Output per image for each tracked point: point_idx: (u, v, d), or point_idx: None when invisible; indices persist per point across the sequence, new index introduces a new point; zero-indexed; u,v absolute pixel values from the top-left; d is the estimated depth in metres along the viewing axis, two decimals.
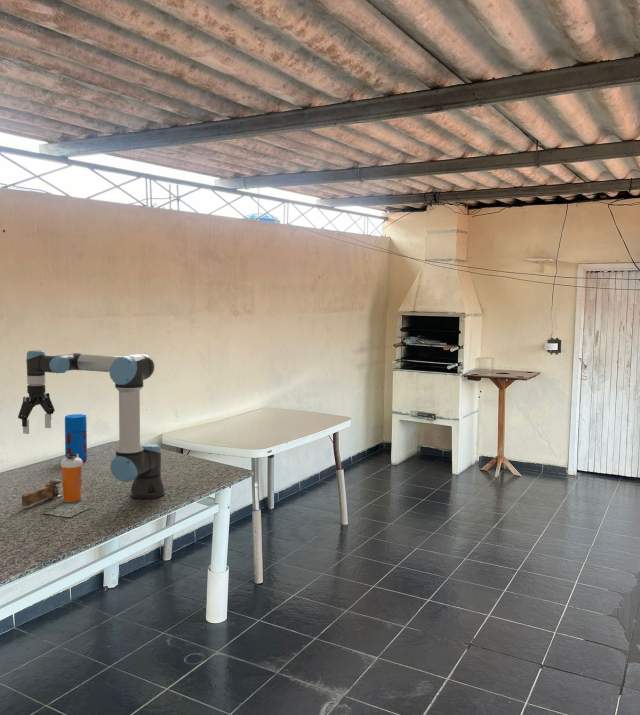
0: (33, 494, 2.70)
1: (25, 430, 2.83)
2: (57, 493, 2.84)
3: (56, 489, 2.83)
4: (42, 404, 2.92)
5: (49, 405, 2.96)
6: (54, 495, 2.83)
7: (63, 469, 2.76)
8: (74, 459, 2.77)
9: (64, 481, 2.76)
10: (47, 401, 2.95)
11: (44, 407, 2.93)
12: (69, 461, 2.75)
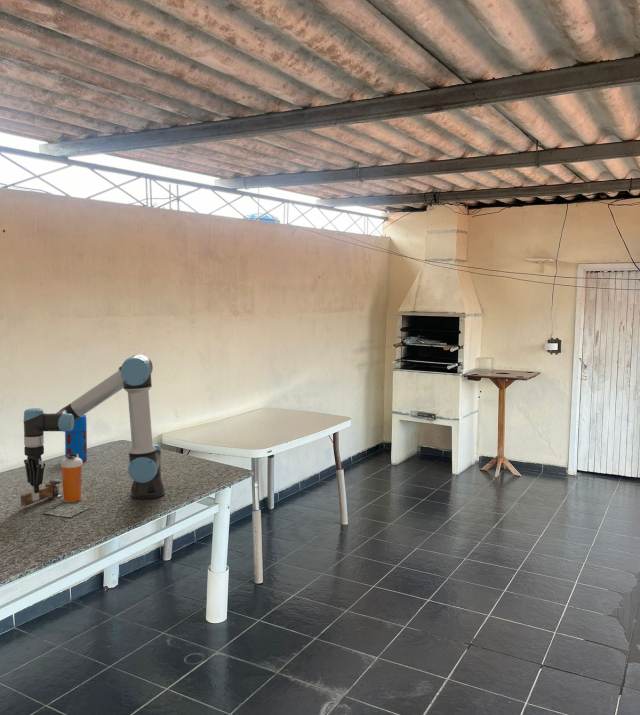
0: None
1: None
2: (57, 493, 2.84)
3: (56, 489, 2.83)
4: None
5: None
6: (54, 495, 2.83)
7: (63, 469, 2.76)
8: (74, 459, 2.77)
9: (64, 481, 2.76)
10: None
11: None
12: (69, 461, 2.75)
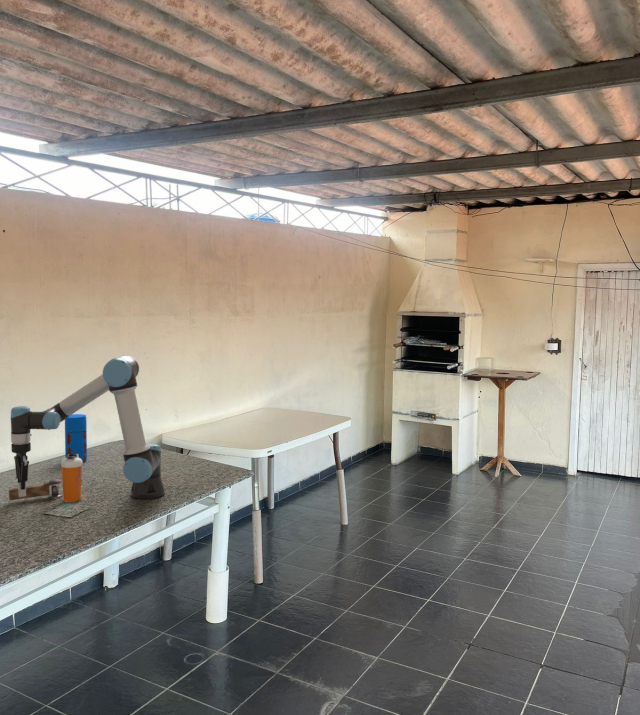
0: None
1: None
2: (57, 493, 2.84)
3: (56, 489, 2.83)
4: None
5: None
6: (54, 495, 2.83)
7: (63, 469, 2.76)
8: (74, 459, 2.77)
9: (64, 481, 2.76)
10: None
11: None
12: (69, 461, 2.75)
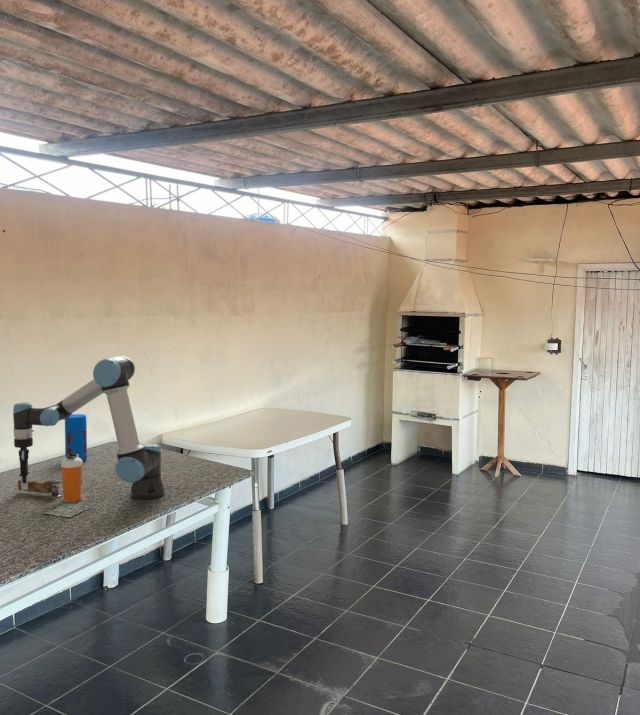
0: None
1: None
2: (57, 493, 2.84)
3: (56, 489, 2.83)
4: None
5: None
6: (54, 495, 2.83)
7: (63, 469, 2.76)
8: (74, 459, 2.77)
9: (64, 481, 2.76)
10: None
11: None
12: (69, 461, 2.75)
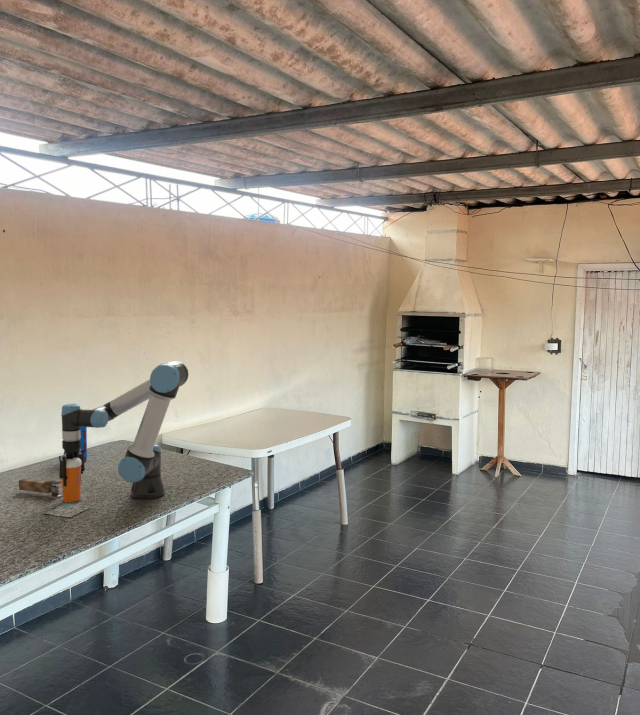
0: (26, 482, 2.87)
1: None
2: (57, 493, 2.84)
3: (56, 489, 2.83)
4: None
5: None
6: (54, 495, 2.83)
7: None
8: (73, 459, 2.77)
9: None
10: (80, 458, 2.84)
11: None
12: (68, 461, 2.75)
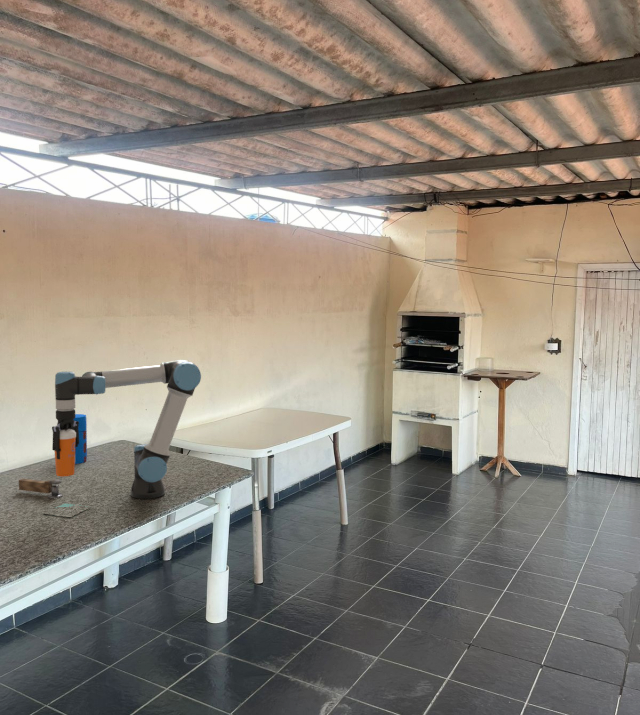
0: (26, 482, 2.87)
1: None
2: (57, 493, 2.84)
3: (56, 489, 2.83)
4: None
5: None
6: (54, 495, 2.83)
7: None
8: (67, 430, 2.60)
9: (56, 454, 2.59)
10: (74, 430, 2.67)
11: None
12: (62, 432, 2.58)
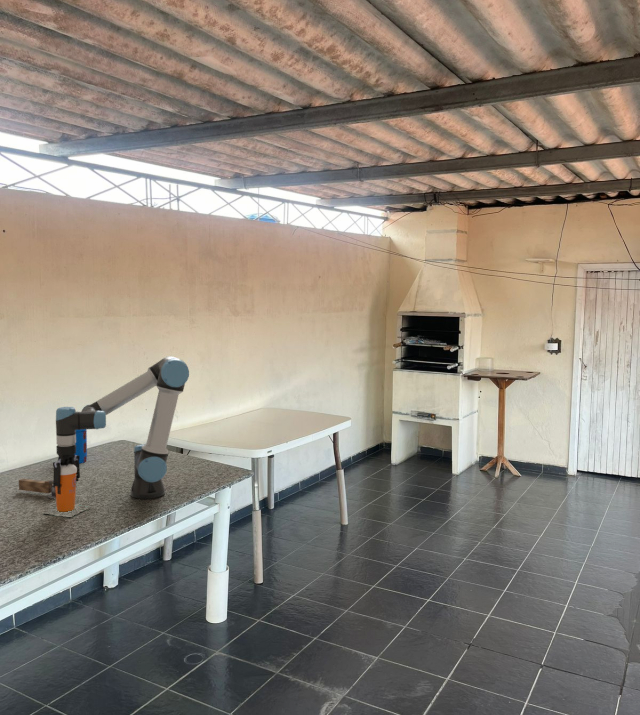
0: (26, 482, 2.87)
1: None
2: None
3: None
4: None
5: None
6: (54, 495, 2.83)
7: None
8: (68, 466, 2.62)
9: (57, 489, 2.60)
10: (75, 464, 2.69)
11: None
12: (63, 468, 2.60)
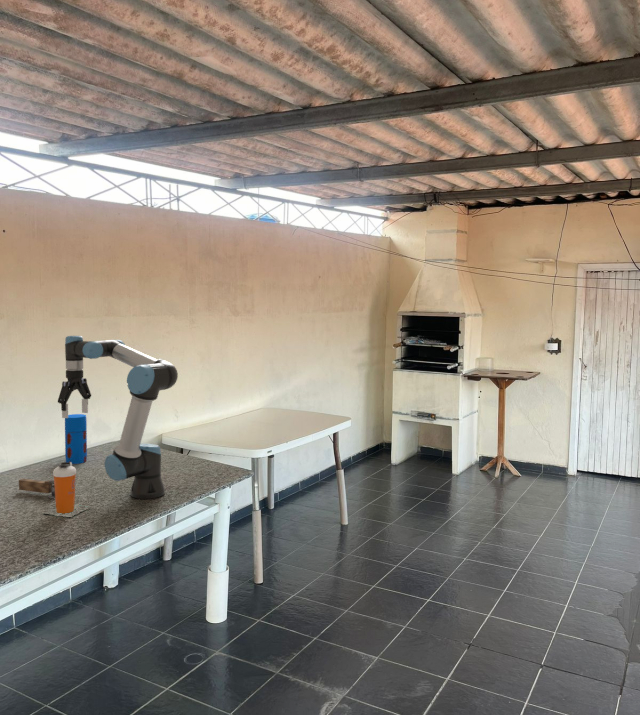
0: (26, 482, 2.87)
1: (65, 414, 2.86)
2: None
3: None
4: (80, 389, 2.95)
5: (86, 390, 2.99)
6: (54, 495, 2.83)
7: (55, 478, 2.59)
8: (67, 468, 2.61)
9: (57, 491, 2.60)
10: (84, 386, 2.98)
11: (81, 392, 2.96)
12: (62, 470, 2.59)
